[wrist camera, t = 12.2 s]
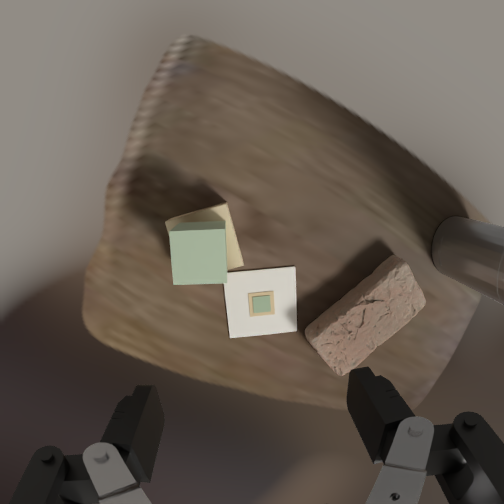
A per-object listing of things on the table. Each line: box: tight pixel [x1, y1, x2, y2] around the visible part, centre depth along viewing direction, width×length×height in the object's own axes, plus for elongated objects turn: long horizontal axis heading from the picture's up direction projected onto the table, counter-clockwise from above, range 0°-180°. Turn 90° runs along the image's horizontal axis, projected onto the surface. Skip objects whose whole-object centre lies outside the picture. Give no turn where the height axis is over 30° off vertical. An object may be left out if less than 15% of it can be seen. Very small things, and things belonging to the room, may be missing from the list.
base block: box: [165, 202, 244, 270], centre depth 36 cm, size 7×7×4 cm
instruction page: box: [224, 266, 297, 338], centre depth 39 cm, size 9×9×1 cm
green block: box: [169, 221, 227, 285], centre depth 31 cm, size 5×5×6 cm
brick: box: [305, 255, 426, 376], centre depth 39 cm, size 17×8×5 cm, turn 129°
